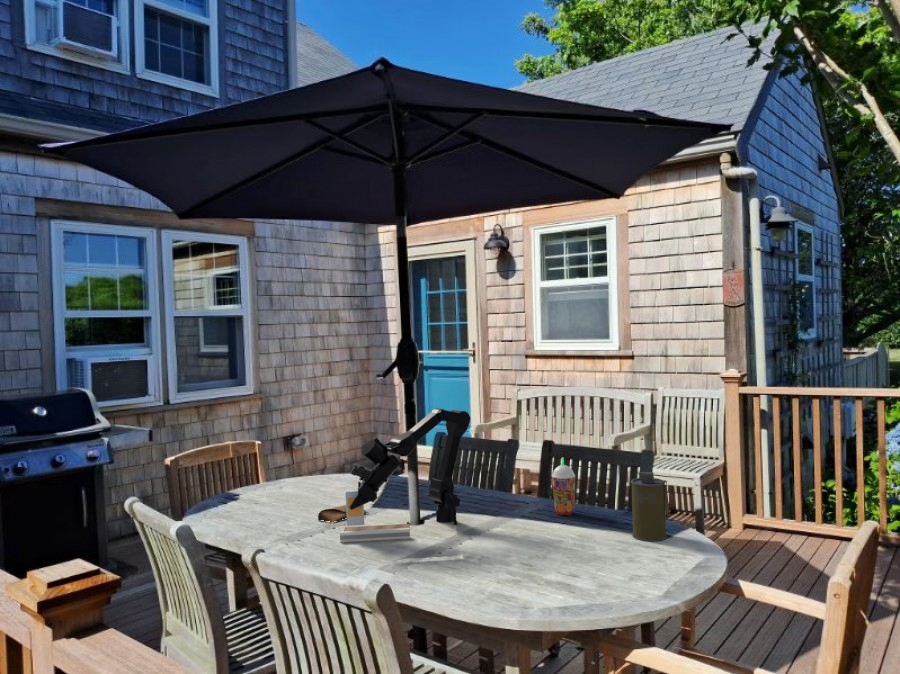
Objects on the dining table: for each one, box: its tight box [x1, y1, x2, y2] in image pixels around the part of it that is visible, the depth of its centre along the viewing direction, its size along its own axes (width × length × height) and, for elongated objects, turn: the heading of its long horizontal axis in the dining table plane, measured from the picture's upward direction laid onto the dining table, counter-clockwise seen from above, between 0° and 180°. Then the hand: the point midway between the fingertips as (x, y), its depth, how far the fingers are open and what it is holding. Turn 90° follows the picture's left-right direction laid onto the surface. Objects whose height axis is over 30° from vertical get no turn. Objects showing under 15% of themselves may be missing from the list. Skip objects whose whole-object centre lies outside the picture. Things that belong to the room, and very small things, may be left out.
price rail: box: [339, 527, 411, 543], centre depth 231 cm, size 22×2×3 cm, turn 93°
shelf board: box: [339, 523, 411, 544], centre depth 239 cm, size 22×18×1 cm
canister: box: [630, 471, 669, 542], centre depth 227 cm, size 11×10×20 cm
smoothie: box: [551, 457, 576, 516], centre depth 257 cm, size 8×8×20 cm
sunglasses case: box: [317, 504, 369, 522], centre depth 265 cm, size 18×7×7 cm
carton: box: [345, 487, 365, 527], centre depth 237 cm, size 6×5×11 cm
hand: (350, 506), depth 236 cm, fingers closed on carton, 5 cm apart
